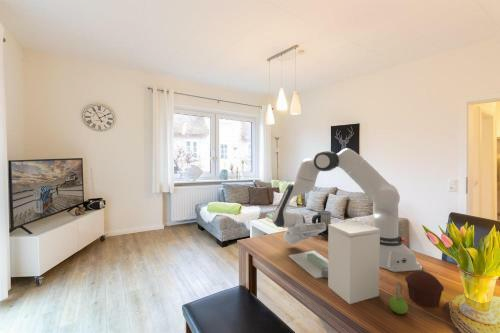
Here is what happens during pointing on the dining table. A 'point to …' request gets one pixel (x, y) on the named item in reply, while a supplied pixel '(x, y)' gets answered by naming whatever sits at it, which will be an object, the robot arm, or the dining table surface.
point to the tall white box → (353, 260)
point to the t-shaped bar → (318, 263)
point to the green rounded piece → (398, 301)
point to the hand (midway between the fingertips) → (315, 225)
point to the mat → (308, 263)
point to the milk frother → (322, 220)
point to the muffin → (424, 289)
